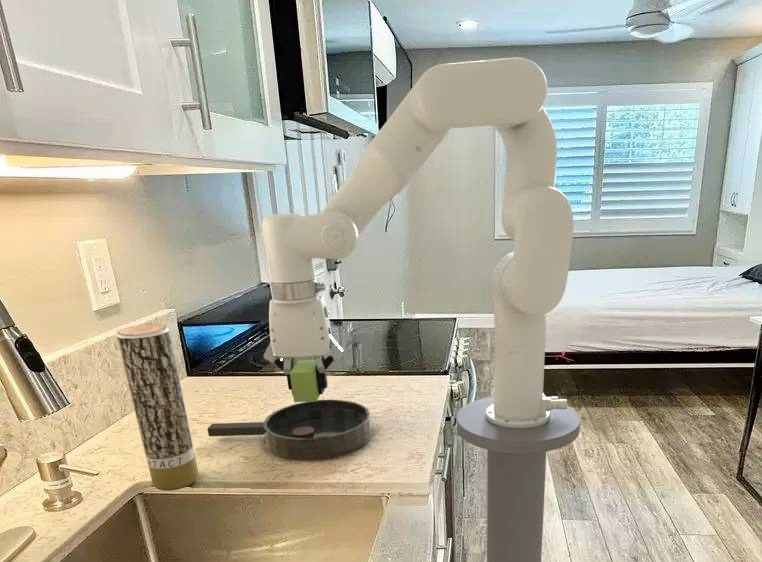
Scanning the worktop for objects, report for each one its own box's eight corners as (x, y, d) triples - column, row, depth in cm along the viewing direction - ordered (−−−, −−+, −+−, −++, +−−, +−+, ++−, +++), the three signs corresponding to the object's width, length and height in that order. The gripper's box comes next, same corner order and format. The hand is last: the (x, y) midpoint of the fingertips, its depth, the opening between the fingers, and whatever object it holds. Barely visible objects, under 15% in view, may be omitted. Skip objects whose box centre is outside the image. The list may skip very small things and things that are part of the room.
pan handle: (269, 429, 107) (267, 421, 106) (265, 434, 105) (264, 426, 104) (213, 431, 107) (211, 423, 106) (208, 436, 105) (207, 428, 104)
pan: (375, 416, 116) (374, 398, 114) (365, 458, 98) (363, 437, 96) (281, 419, 115) (278, 401, 114) (253, 462, 98) (249, 441, 96)
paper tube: (166, 472, 95) (132, 324, 86) (206, 472, 94) (176, 323, 85) (144, 492, 88) (105, 335, 79) (187, 492, 88) (153, 334, 79)
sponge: (323, 387, 107) (320, 359, 105) (316, 401, 100) (312, 371, 98) (302, 388, 107) (298, 360, 105) (294, 402, 100) (289, 372, 98)
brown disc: (317, 432, 108) (317, 427, 107) (308, 440, 104) (307, 435, 104) (298, 430, 109) (297, 425, 108) (288, 439, 105) (287, 434, 105)
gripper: (347, 285, 100) (357, 383, 107) (251, 289, 100) (268, 387, 107) (341, 292, 93) (352, 397, 100) (238, 297, 93) (257, 402, 100)
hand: (308, 391), depth 103 cm, fingers closed on sponge, 4 cm apart
